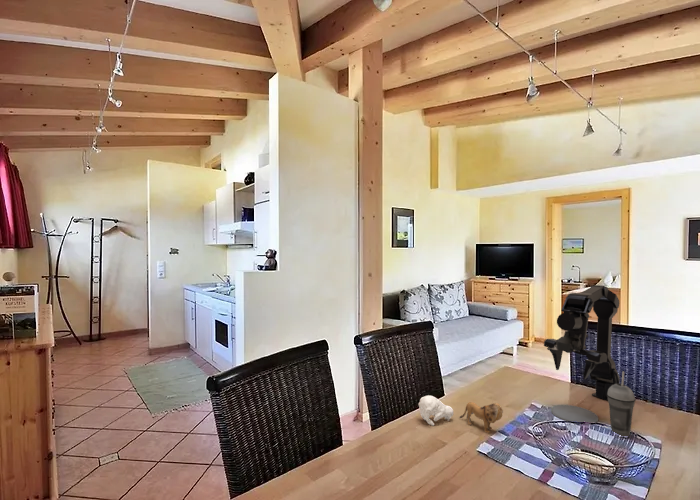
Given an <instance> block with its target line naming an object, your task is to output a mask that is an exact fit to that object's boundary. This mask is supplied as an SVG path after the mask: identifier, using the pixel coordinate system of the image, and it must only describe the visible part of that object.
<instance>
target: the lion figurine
mask: <svg viewBox="0 0 700 500" xmlns="http://www.w3.org/2000/svg"><path fill="white" fill-rule="evenodd" d="M503 413H504V409H503V407H502V406H501V405H500V404H499V403H497V402H494V403H493V402H492V403H491V404H488V405H484V406H480V405H478V404H477V403H475V402H472V401H469V402H467V404H466V406H465V410H464V412H463V414H462V415H460V416H459V418H460V419H463V418H464V417H465V415H466V420H467V425H468V426H473V422H471V417H472V415H474V416H475V417H476V418H477V419H479V420H482V421H483V425H484V426H483V427H484V428H483V430H484V433H487V434H488V433H490V430H491V431H492V430H493V427H491V424H494V423H495V422H497V421H500V420H501V419H502V417H503Z"/></svg>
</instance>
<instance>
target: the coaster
mask: <svg viewBox="0 0 700 500" xmlns="http://www.w3.org/2000/svg"><path fill="white" fill-rule="evenodd" d="M550 412H551V414H552V415H553V416H555V417H556V418H557V419H559V420H562V421H565V422H568V421H577V422H584V421H585V422H597V423H598V422H599V416H598V415H597V414H596V413H595V412H593V411H592V410H590V409H587V408H584V407H581V406H577V405H572V404H555V405H553V406H551V408H550Z"/></svg>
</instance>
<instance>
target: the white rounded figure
mask: <svg viewBox="0 0 700 500" xmlns="http://www.w3.org/2000/svg"><path fill="white" fill-rule="evenodd" d="M418 407H419V409H418V410H419V414H420V417H421V418H422V419H423V421H426V422H427V424H428V425H430V426H432V427H434V426H435V423H434V422H437V421H440V419H442V418H444V420H445V421H446V420H447V421H448V422H449V421H450V420H451V419H452V417H453V415H454V409H453V408H452V407H451V406H450V405H446V404H444V403H443V402H442V401H441V400H440V399H438V398H437V397H435V396H433V395H425V396H422V397H421V398H420V399H419V402H418ZM430 416H433V420H432V419H430Z"/></svg>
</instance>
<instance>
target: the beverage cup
mask: <svg viewBox="0 0 700 500" xmlns="http://www.w3.org/2000/svg"><path fill="white" fill-rule="evenodd" d="M624 381H625V371H624V370H623V371H622V373H621V382H620V384H614V385H612V386H611V387H610V388H609V389H608V393H607V397H608V401H607V402H608V409H609V419H610V420H609V421H610V429H612V430H611V432H612V431H613V432H615V433H617V434H619V435H621V436H629V435H630V434H631V429H632V420H633V413H634V407H635V403H636V397H635V394H634V392H633V390H632V389H631V388H630V387H629V386H627V385H626V384H624ZM629 437H630V436H629Z"/></svg>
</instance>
